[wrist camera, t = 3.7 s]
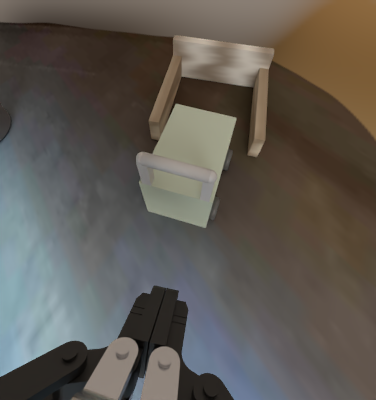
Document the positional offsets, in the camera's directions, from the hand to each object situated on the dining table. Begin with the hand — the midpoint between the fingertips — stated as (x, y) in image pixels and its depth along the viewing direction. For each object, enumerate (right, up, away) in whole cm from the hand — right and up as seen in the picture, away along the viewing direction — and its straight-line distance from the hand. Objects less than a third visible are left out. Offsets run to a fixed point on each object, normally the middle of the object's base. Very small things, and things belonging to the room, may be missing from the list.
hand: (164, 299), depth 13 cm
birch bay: (+5, +18, +18) cm, 26 cm away
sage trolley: (+2, +8, +13) cm, 15 cm away
